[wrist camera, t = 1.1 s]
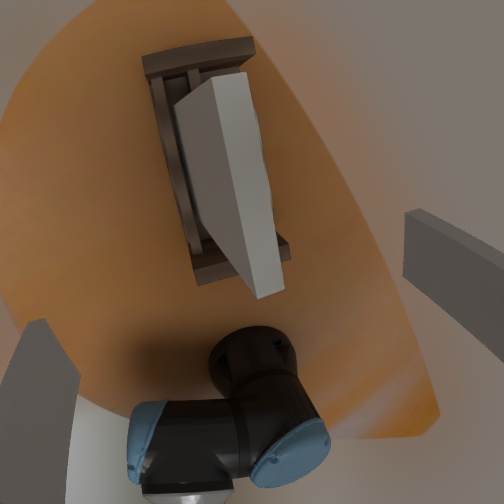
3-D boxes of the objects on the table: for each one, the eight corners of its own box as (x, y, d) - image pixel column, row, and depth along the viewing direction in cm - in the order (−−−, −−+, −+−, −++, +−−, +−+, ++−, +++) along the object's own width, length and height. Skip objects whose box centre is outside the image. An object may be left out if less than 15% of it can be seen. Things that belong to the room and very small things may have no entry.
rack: (266, 232, 46) (290, 259, 37) (190, 253, 44) (197, 286, 36) (233, 54, 35) (252, 36, 27) (147, 71, 33) (141, 56, 25)
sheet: (211, 211, 41) (284, 289, 22) (196, 215, 41) (257, 299, 21) (187, 103, 35) (246, 71, 16) (171, 107, 35) (211, 77, 15)
